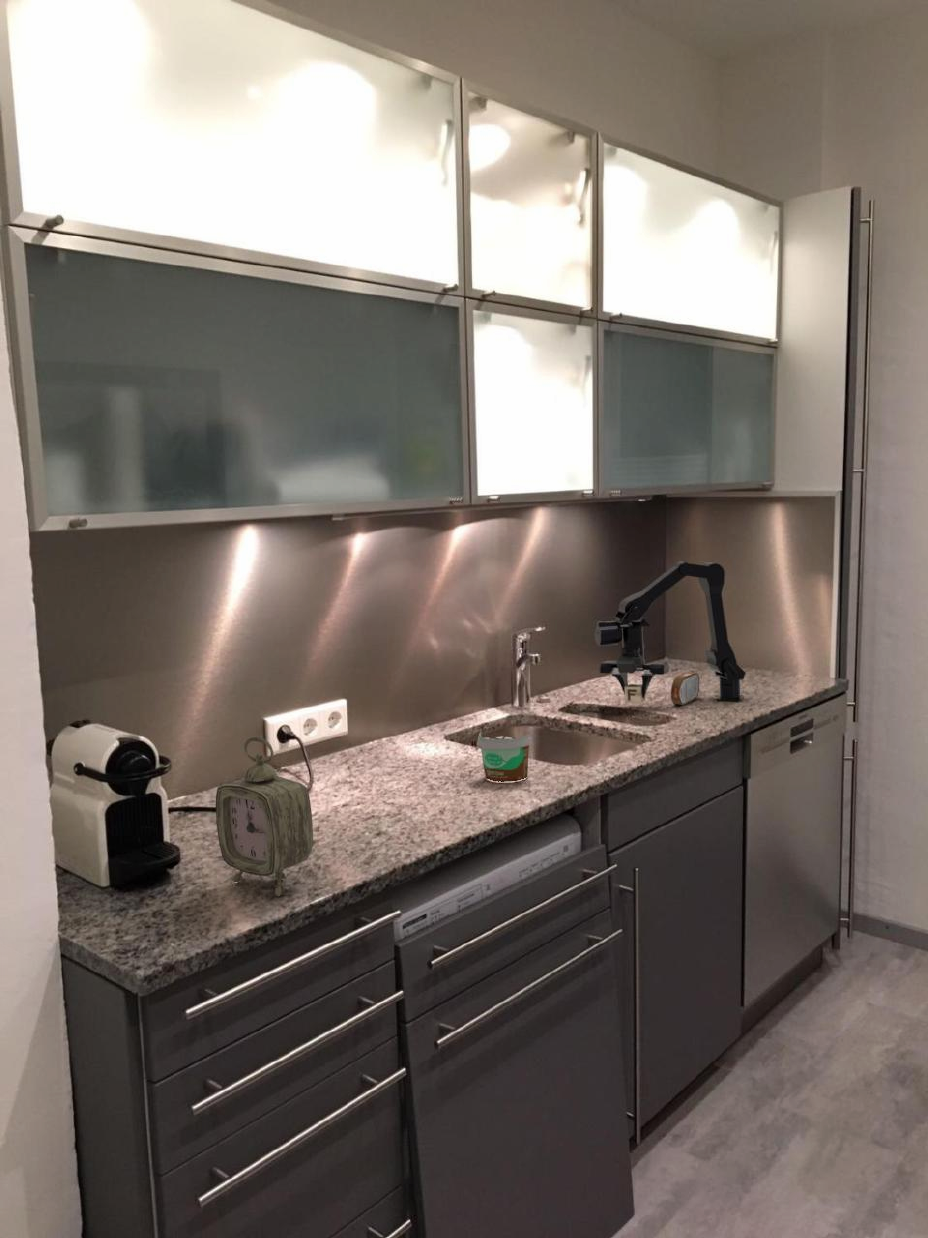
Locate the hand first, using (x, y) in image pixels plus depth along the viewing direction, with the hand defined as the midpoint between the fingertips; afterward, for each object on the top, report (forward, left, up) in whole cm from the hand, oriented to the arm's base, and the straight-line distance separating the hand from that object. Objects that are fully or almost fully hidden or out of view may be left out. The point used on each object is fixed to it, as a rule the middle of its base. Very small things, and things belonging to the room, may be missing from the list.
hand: (635, 697), depth 286 cm
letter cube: (0, 0, -1) cm, 1 cm away
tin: (-10, +12, -3) cm, 16 cm away
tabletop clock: (+144, -18, -3) cm, 145 cm away
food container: (+78, -6, -3) cm, 78 cm away
